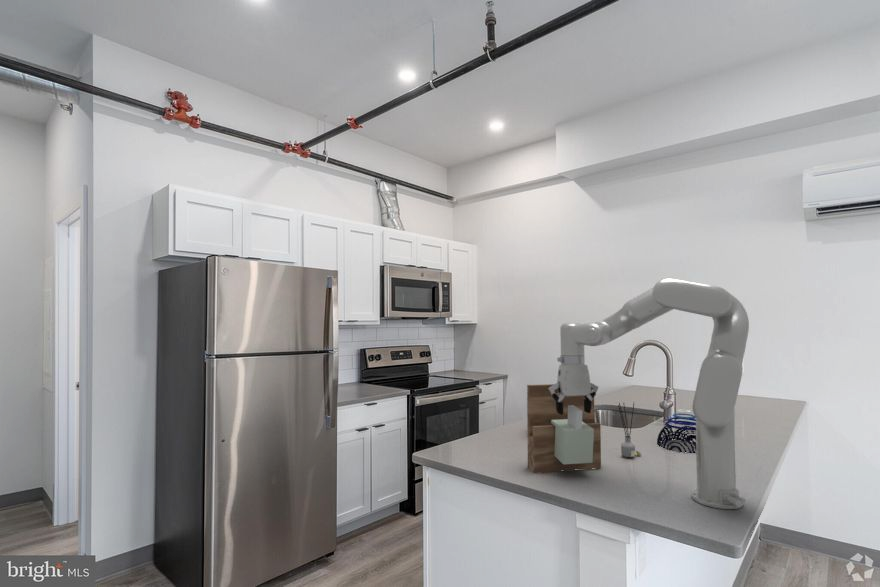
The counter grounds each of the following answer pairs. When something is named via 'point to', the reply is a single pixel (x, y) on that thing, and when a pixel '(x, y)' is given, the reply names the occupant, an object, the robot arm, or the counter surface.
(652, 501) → the counter surface
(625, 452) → the reed diffuser
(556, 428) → the pale green pegged cube
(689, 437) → the decorative bowl
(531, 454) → the wooden board stand
